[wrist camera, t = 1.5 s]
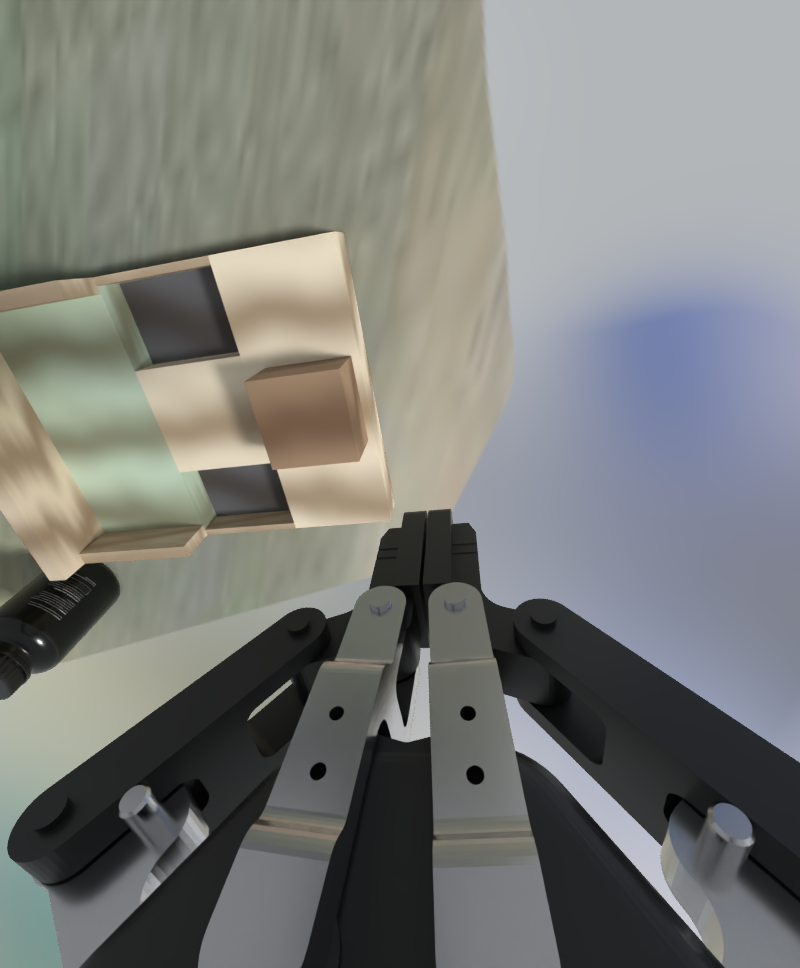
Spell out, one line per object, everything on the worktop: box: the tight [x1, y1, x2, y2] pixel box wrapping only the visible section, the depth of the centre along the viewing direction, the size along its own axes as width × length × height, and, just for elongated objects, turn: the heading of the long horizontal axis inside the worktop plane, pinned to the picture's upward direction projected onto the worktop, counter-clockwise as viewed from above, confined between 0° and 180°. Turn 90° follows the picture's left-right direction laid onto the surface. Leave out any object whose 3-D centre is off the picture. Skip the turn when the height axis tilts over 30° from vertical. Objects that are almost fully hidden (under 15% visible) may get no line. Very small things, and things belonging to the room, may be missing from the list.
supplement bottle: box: [0, 563, 120, 700], centre depth 39 cm, size 7×7×12 cm
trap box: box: [0, 231, 395, 581], centre depth 30 cm, size 20×27×8 cm
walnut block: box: [244, 356, 368, 470], centre depth 28 cm, size 6×6×4 cm
